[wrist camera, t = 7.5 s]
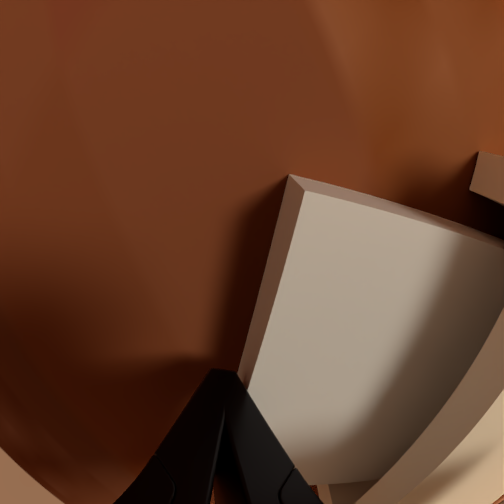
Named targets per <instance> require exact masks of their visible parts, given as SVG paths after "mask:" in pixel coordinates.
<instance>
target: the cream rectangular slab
mask: <svg viewBox="0 0 504 504" xmlns="http://www.w3.org/2000/svg"><path fill="white" fill-rule="evenodd" d="M469 190H471V191H473V192H475V193H477V194H479V195H482V196H484V197H486V198H488V199H490V200H492V201H494V202H496V203H498V204H500V205H502V206H504V157H503V156H499V155H495V154H491V153H487V152H482V151H479V154H478V158H477V163H476V167H475V170H474V174H473V178H472V182H471V185H470V189H469ZM317 489H318V494H319V498H320V500H321V501H322V502H323V503H324V504H492V503H493V502H494V501H496V500H497V499H498V498H499V497H501V496H502V495H503V494H504V308H503V310H502V312H501V314H500V316H499V318H498V320H497V322H496V324H495V325H494V327H493V329H492V331H491V333H490V335H489V336H488V338H487V340H486V342H485V344H484V345H483V347H482V349H481V350H480V352H479V354H478V355H477V357H476V359H475V360H474V362H473V364H472V365H471V367H470V368H469V370H468V371H467V373H466V375H465V376H464V378H463V379H462V381H461V382H460V384H459V385H458V387H457V388H456V389H455V391H454V392H453V394H452V395H451V397H450V398H449V399H448V401H447V402H446V403H445V405H444V406H443V408H442V409H441V410H440V412H439V413H438V414H437V415H436V417H435V418H434V419H433V421H432V422H431V423H430V424H429V426H428V427H427V428H426V429H425V431H424V432H423V433H422V434H421V435H420V437H419V438H418V439H417V440H416V441H415V443H414V444H413V445H412V446H411V447H410V448H409V449H408V451H407V452H406V453H405V454H404V455H403V456H402V457H401V458H400V459H399V460H398V462H397V463H396V464H395V465H394V466H393V467H392V468H391V469H390V470H389V471H388V472H387V473H386V474H385V475H384V476H383V477H382V478H381V479H377V480H369V481H361V482H351V483H339V484H324V485H317Z"/></svg>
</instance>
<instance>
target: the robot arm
mask: <svg viewBox="0 0 504 504" xmlns="http://www.w3.org/2000/svg"><path fill="white" fill-rule="evenodd" d="M213 487H214V499H215V504H324V503H323V502H322V501H321V500H320V498H319V497H318V496H317V495H316V494H315V493H314V491H313V490H312V489H311V487H310V486H309V485H308V483H307V482H306V481H305V479H304V478H303V476H302V475H301V473H300V472H299V470H298V469H297V468H295V465H294V463H293V462H292V460H291V459H290V457H289V456H288V454H287V453H286V451H285V450H284V448H283V447H282V445H281V444H280V442H279V441H278V439H277V438H276V436H275V434H274V433H273V431H272V430H271V428H270V427H269V425H268V423H267V422H266V420H265V419H264V417H263V416H262V414H261V412H260V411H259V409H258V407H257V406H256V404H255V403H254V401H253V399H252V398H251V396H250V394H249V393H248V391H247V389H246V388H245V386H244V384H243V383H242V381H241V379H240V378H239V376H238V374H237V373H236V372H235V371H230V370H223V369H216V368H211V369H210V370H209V371H208V373H207V374H206V376H205V377H204V379H203V381H202V382H201V384H200V385H199V387H198V388H197V390H196V391H195V393H194V394H193V396H192V397H191V399H190V400H189V402H188V404H187V405H186V407H185V408H184V410H183V411H182V413H181V414H180V416H179V417H178V419H177V420H176V422H175V423H174V425H173V426H172V428H171V429H170V431H169V432H168V434H167V435H166V437H165V438H164V440H163V441H162V443H161V444H160V446H159V447H158V449H157V450H156V452H155V455H153V456H152V457H151V459H150V460H149V462H148V463H147V465H146V466H145V467H144V469H143V470H142V471H141V473H140V474H139V475H138V477H137V478H136V479H135V481H134V482H133V483H132V484H131V485H130V486H129V487H128V488H127V490H126V491H125V492H124V493H123V494H122V495H121V496H120V497H119V498H118V499H117V500H116V501H115V502H114V503H113V504H210V501H211V495H212V490H213Z"/></svg>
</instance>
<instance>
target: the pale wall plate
mask: <svg viewBox="0 0 504 504" xmlns="http://www.w3.org/2000/svg"><path fill="white" fill-rule="evenodd" d="M503 308H504V240H502V239H500V238H497V237H494V236H492V235H489V234H487V233H484V232H481V231H479V230H476V229H473V228H470V227H468V226H465V225H462V224H459V223H456V222H454V221H451V220H448V219H445V218H442V217H439V216H436V215H433V214H430V213H427V212H424V211H421V210H418V209H415V208H411V207H408V206H405V205H402V204H399V203H395V202H392V201H389V200H385V199H382V198H378V197H375V196H372V195H368V194H364V193H361V192H357V191H354V190H350V189H346V188H343V187H339V186H335V185H331V184H327V183H323V182H319V181H315V180H311V179H307V178H303V177H299V176H295V175H291V174H289V175H288V179H287V183H286V188H285V192H284V196H283V200H282V204H281V208H280V212H279V216H278V220H277V224H276V228H275V231H274V235H273V239H272V243H271V247H270V251H269V255H268V259H267V263H266V267H265V271H264V274H263V278H262V282H261V286H260V290H259V294H258V298H257V301H256V305H255V309H254V313H253V317H252V320H251V324H250V328H249V332H248V335H247V339H246V343H245V347H244V350H243V354H242V358H241V361H240V365H239V369H238V373H237V374H238V376H239V378H240V379H241V381H242V383H243V384H244V386H245V388H246V389H247V391H248V393H249V394H250V396H251V398H252V399H253V401H254V403H255V404H256V406H257V407H258V409H259V411H260V412H261V414H262V416H263V417H264V419H265V420H266V422H267V423H268V425H269V427H270V428H271V430H272V431H273V433H274V434H275V436H276V438H277V439H278V441H279V442H280V444H281V445H282V447H283V448H284V450H285V451H286V453H287V454H288V456H289V457H290V459H291V460H292V462H293V463H294V465H295V468H297V469H298V470H299V472H300V473H301V475H302V476H303V478H304V479H305V481H306V482H307V483H308V485H324V484H339V483H351V482H361V481H369V480H377V479H381V478H382V477H383V476H384V475H385V474H386V473H387V472H388V471H389V470H390V469H391V468H392V467H393V466H394V465H395V464H396V463H397V462H398V460H399V459H400V458H401V457H402V456H403V455H404V454H405V453H406V452H407V451H408V449H409V448H410V447H411V446H412V445H413V444H414V443H415V441H416V440H417V439H418V438H419V437H420V435H421V434H422V433H423V432H424V431H425V429H426V428H427V427H428V426H429V424H430V423H431V422H432V421H433V419H434V418H435V417H436V415H437V414H438V413H439V412H440V410H441V409H442V408H443V406H444V405H445V403H446V402H447V401H448V399H449V398H450V397H451V395H452V394H453V392H454V391H455V389H456V388H457V387H458V385H459V384H460V382H461V381H462V379H463V378H464V376H465V375H466V373H467V371H468V370H469V368H470V367H471V365H472V364H473V362H474V360H475V359H476V357H477V355H478V354H479V352H480V350H481V349H482V347H483V345H484V344H485V342H486V340H487V338H488V336H489V335H490V333H491V331H492V329H493V327H494V325H495V324H496V322H497V320H498V318H499V316H500V314H501V312H502V310H503Z"/></svg>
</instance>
